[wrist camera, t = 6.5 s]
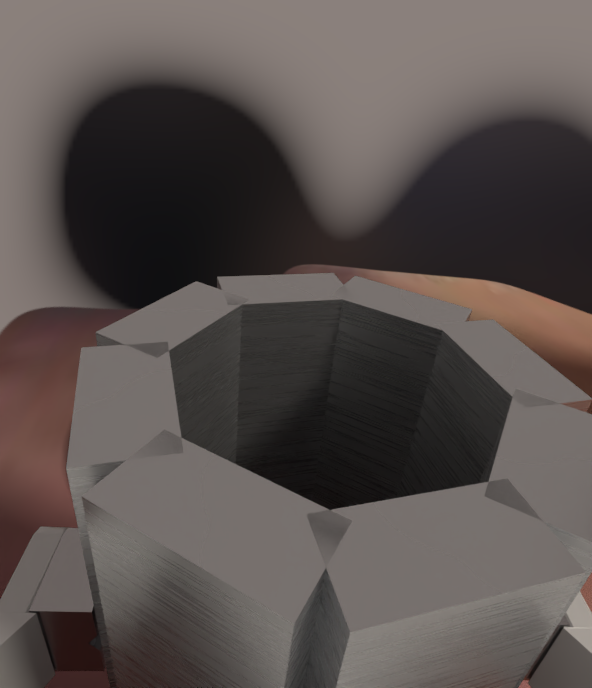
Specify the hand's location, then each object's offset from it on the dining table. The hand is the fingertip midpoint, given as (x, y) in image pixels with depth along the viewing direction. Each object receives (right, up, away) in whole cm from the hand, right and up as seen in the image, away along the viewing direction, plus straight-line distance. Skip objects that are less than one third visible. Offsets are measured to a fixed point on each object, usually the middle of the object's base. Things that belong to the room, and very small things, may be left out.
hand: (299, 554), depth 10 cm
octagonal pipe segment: (-1, -6, +3) cm, 7 cm away
